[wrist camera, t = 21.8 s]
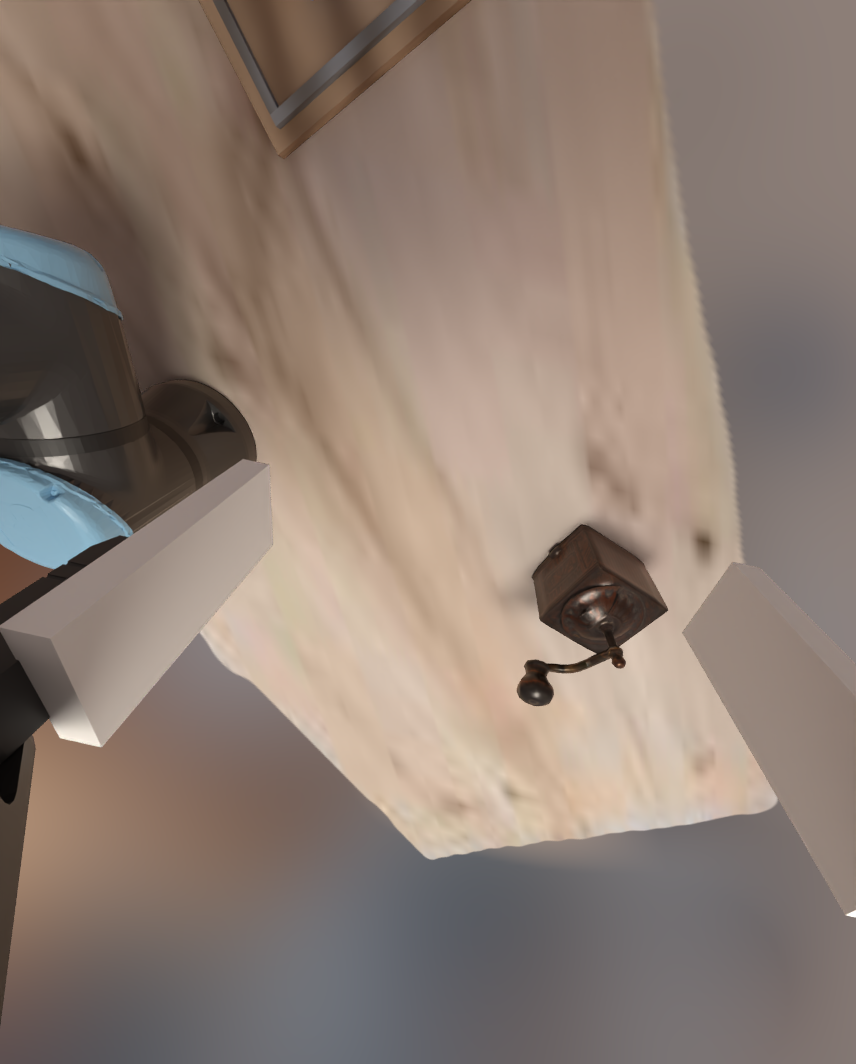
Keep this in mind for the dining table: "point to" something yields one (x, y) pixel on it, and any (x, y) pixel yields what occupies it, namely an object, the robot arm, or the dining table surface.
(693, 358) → the dining table surface
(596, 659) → the manual coffee grinder
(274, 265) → the dining table surface
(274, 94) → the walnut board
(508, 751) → the dining table surface
